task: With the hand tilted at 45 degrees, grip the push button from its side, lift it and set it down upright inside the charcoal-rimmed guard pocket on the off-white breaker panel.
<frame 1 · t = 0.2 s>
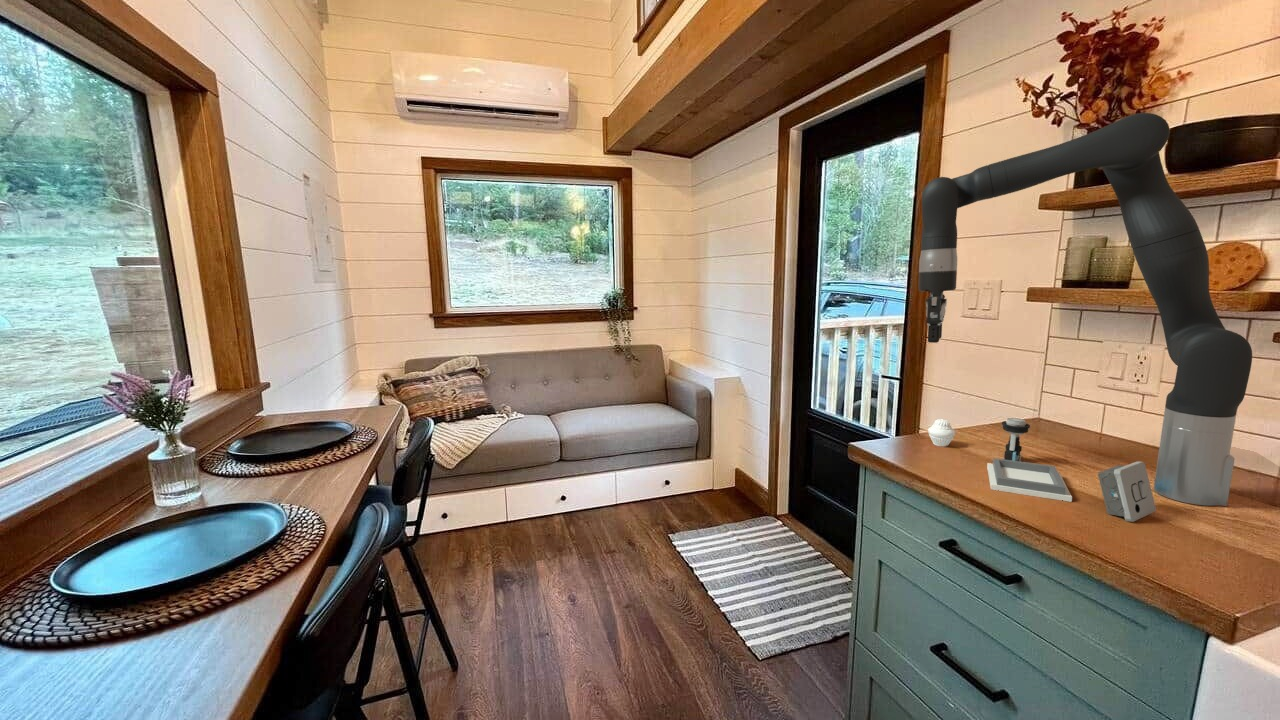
hand: (934, 340, 119), 29 cm above the worktop, tool pointing down, fingers open, 8 cm apart
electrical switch: (1124, 513, 95), on the worktop
sponge: (1119, 492, 105), on the worktop
breaker panel: (1025, 483, 109), on the worktop
muffin: (940, 445, 134), on the worktop
push button: (1012, 460, 122), on the worktop
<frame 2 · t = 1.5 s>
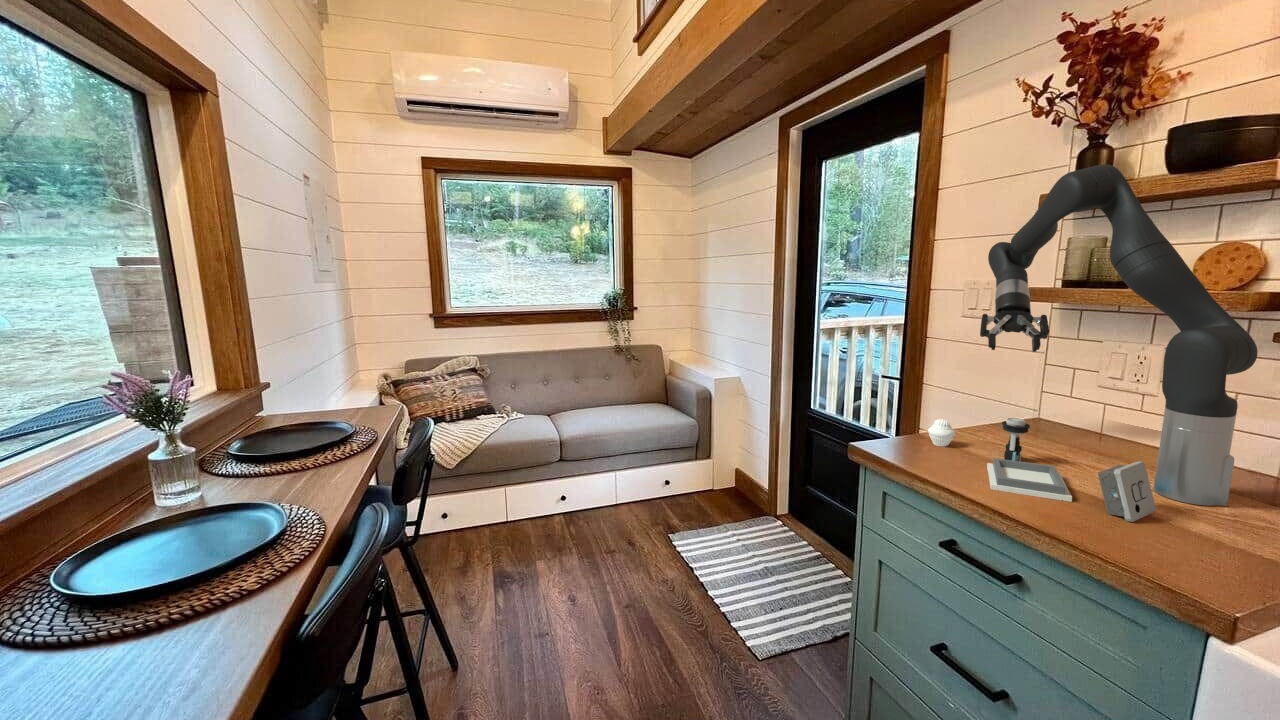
hand: (1014, 349, 129), 25 cm above the worktop, tool tilted 45°, fingers open, 8 cm apart
nothing on the worktop moved.
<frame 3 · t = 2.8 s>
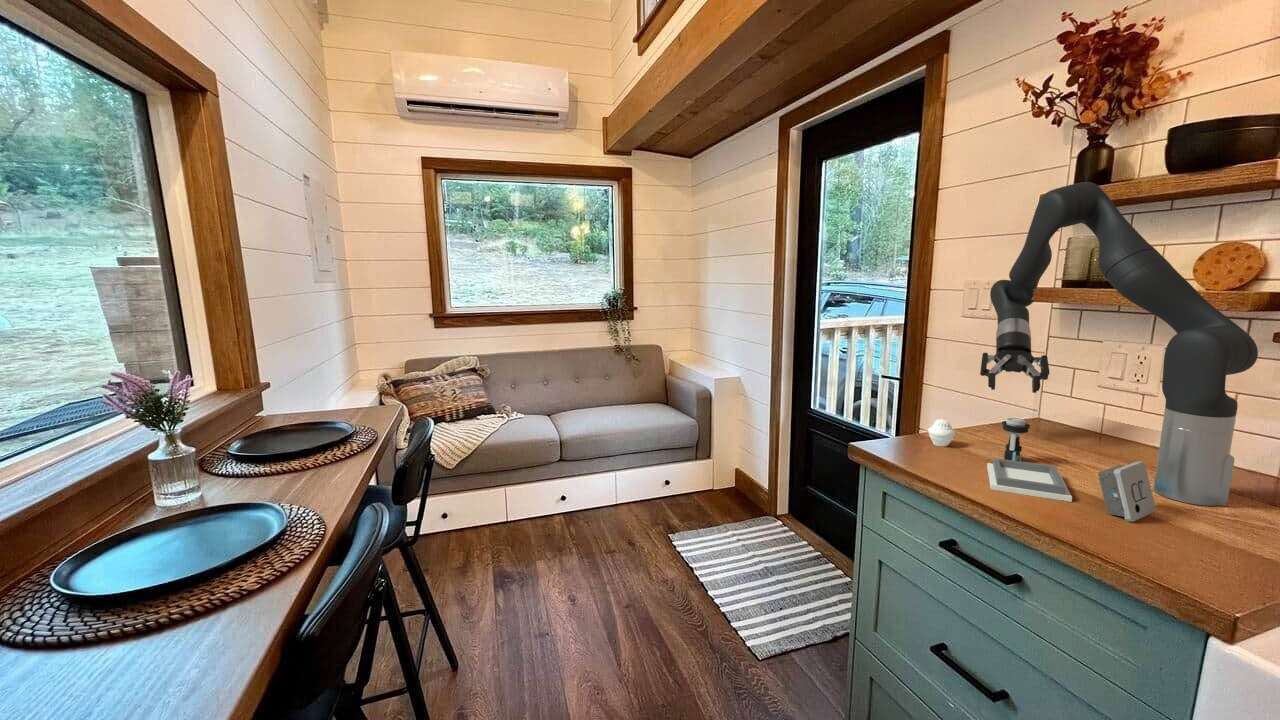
hand: (1013, 389, 129), 15 cm above the worktop, tool tilted 45°, fingers open, 8 cm apart
nothing on the worktop moved.
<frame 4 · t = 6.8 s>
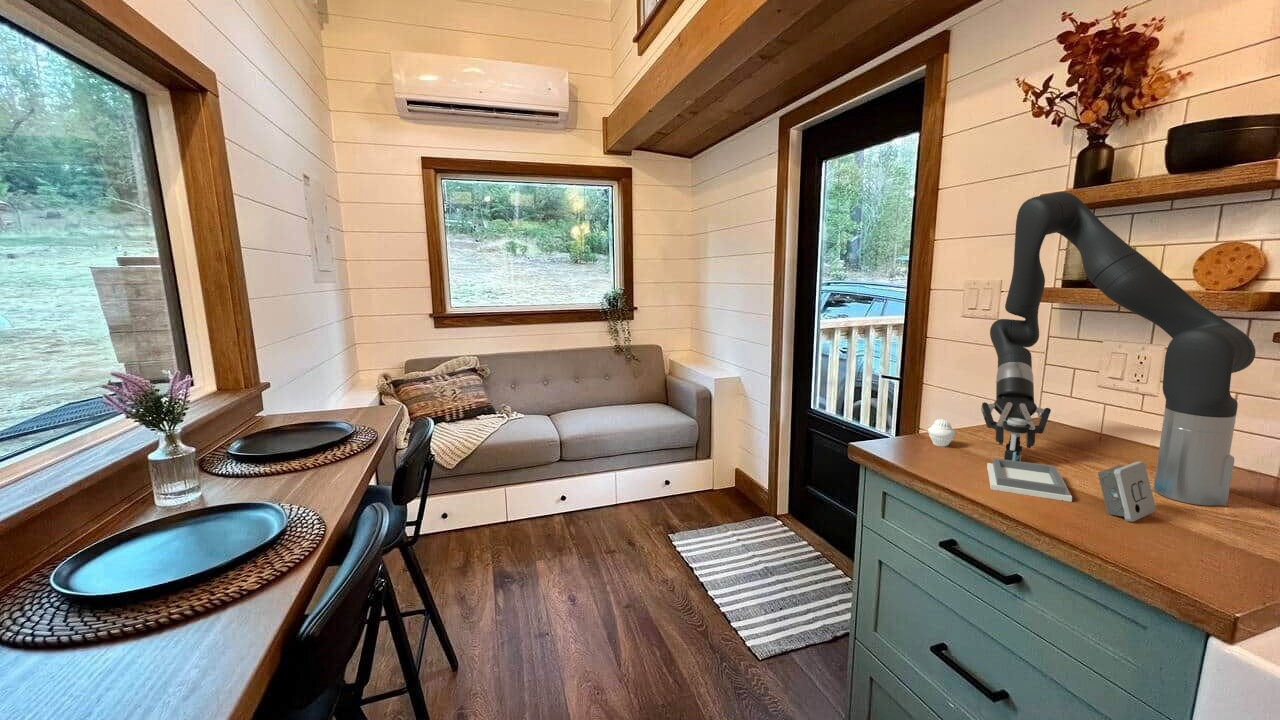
hand: (1015, 444, 120), 4 cm above the worktop, tool tilted 45°, fingers closed on push button, 4 cm apart
push button: (1012, 460, 122), on the worktop, touching gripper
everything else where it was.
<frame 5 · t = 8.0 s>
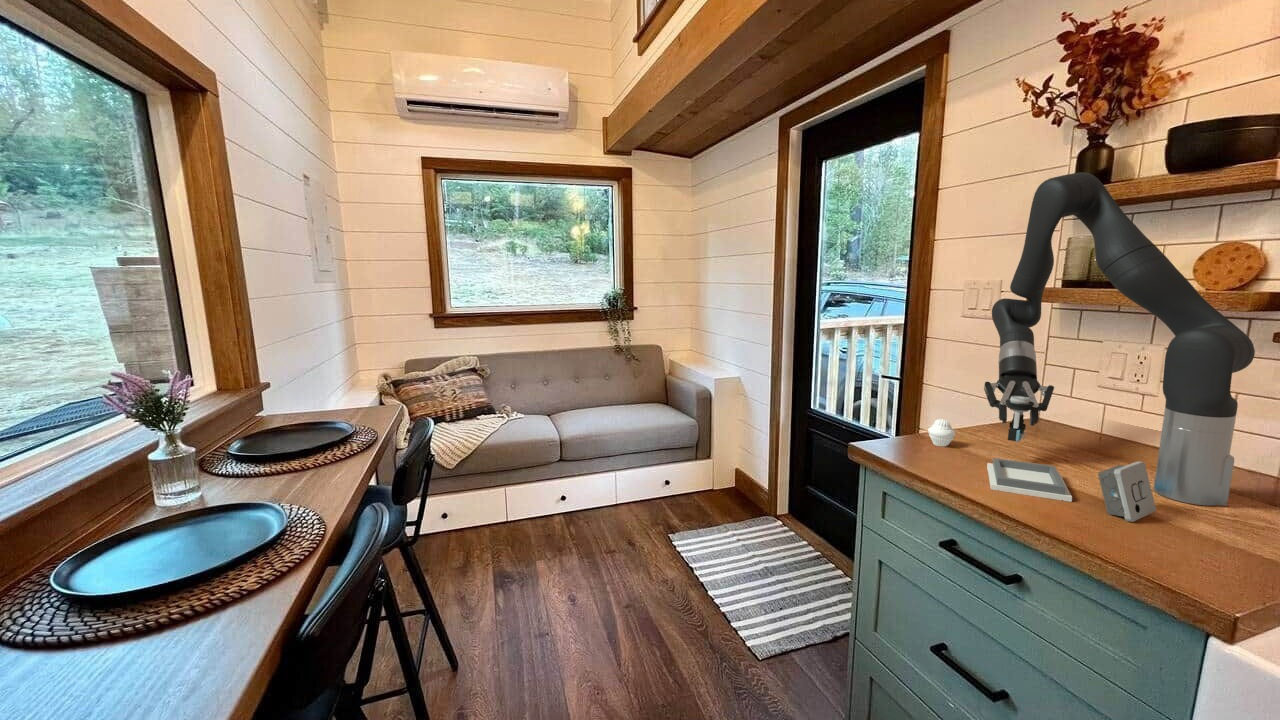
hand: (1018, 422, 119), 10 cm above the worktop, tool tilted 45°, fingers closed on push button, 4 cm apart
push button: (1016, 439, 121), point 5 cm above the worktop, touching gripper
everything else where it was.
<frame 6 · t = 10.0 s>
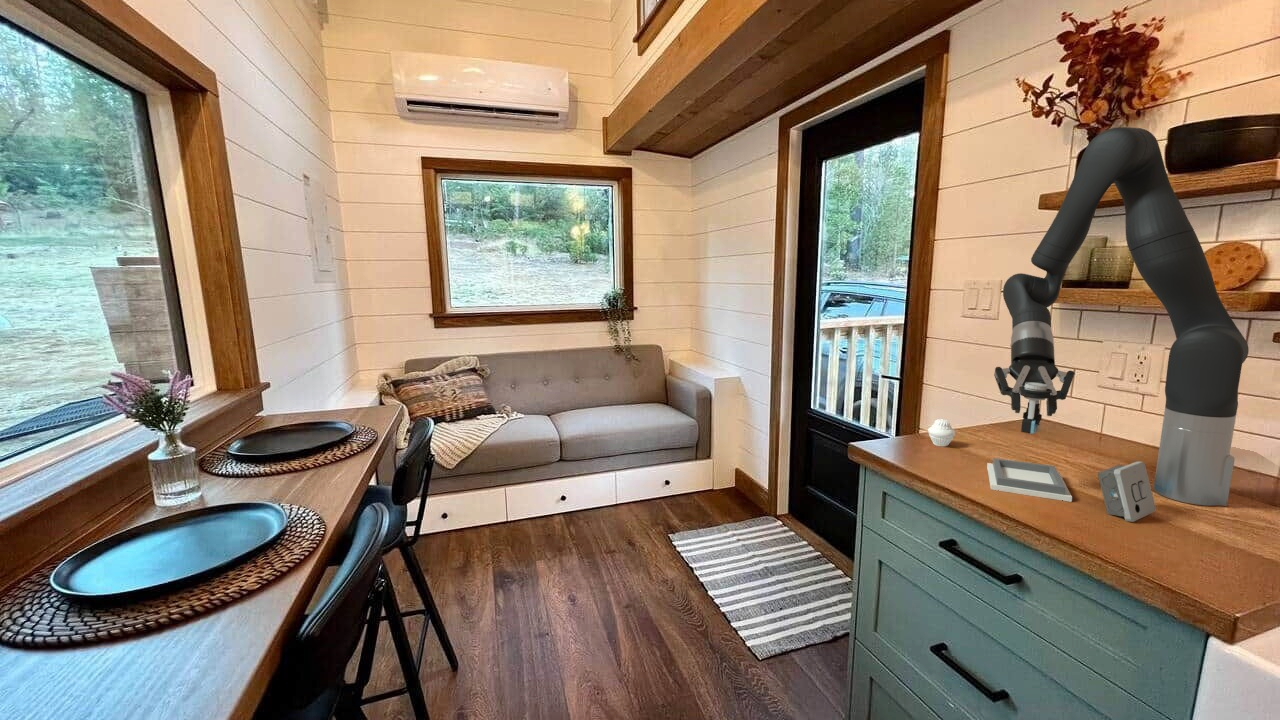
hand: (1033, 412, 105), 16 cm above the worktop, tool tilted 45°, fingers closed on push button, 4 cm apart
push button: (1031, 431, 107), point 11 cm above the worktop, touching gripper
everything else where it was.
when the fingers open (7 cm above the worktop, at t = 13.0 s): push button drops 1 cm, resting on breaker panel.
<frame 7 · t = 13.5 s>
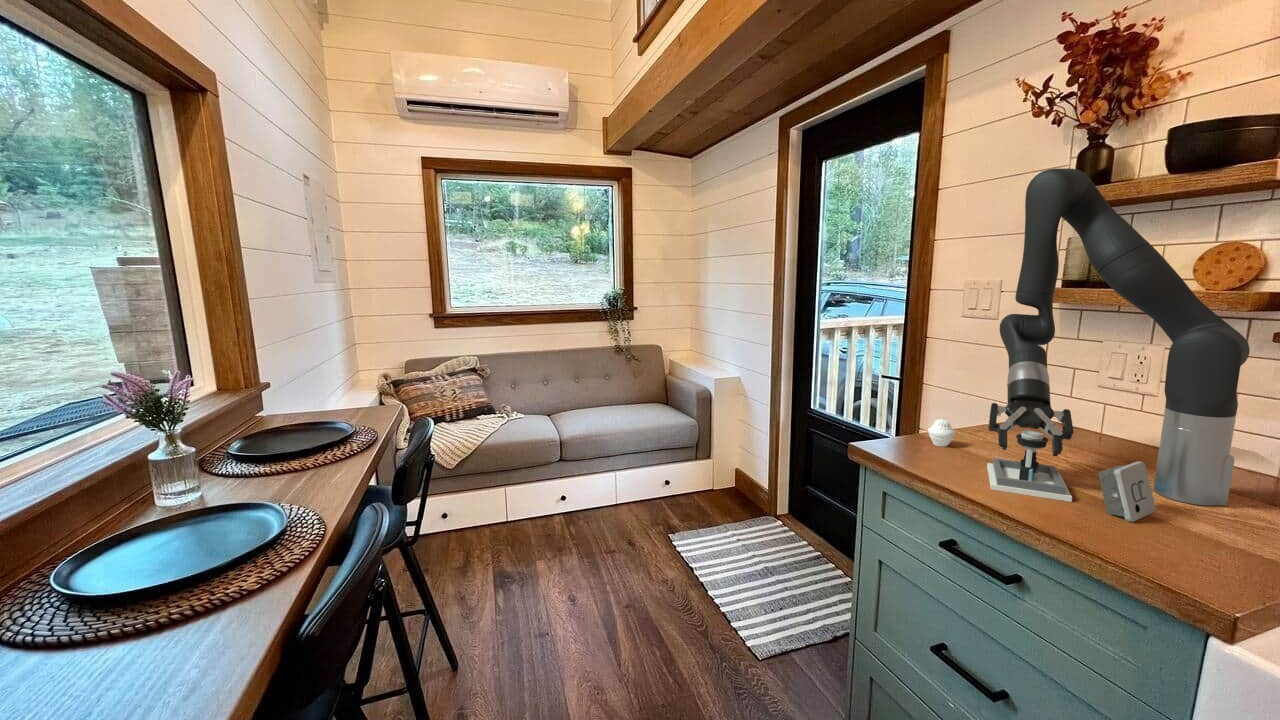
hand: (1029, 451, 107), 7 cm above the worktop, tool tilted 45°, fingers open, 8 cm apart
push button: (1028, 478, 109), point 1 cm above the worktop, touching breaker panel
everything else where it was.
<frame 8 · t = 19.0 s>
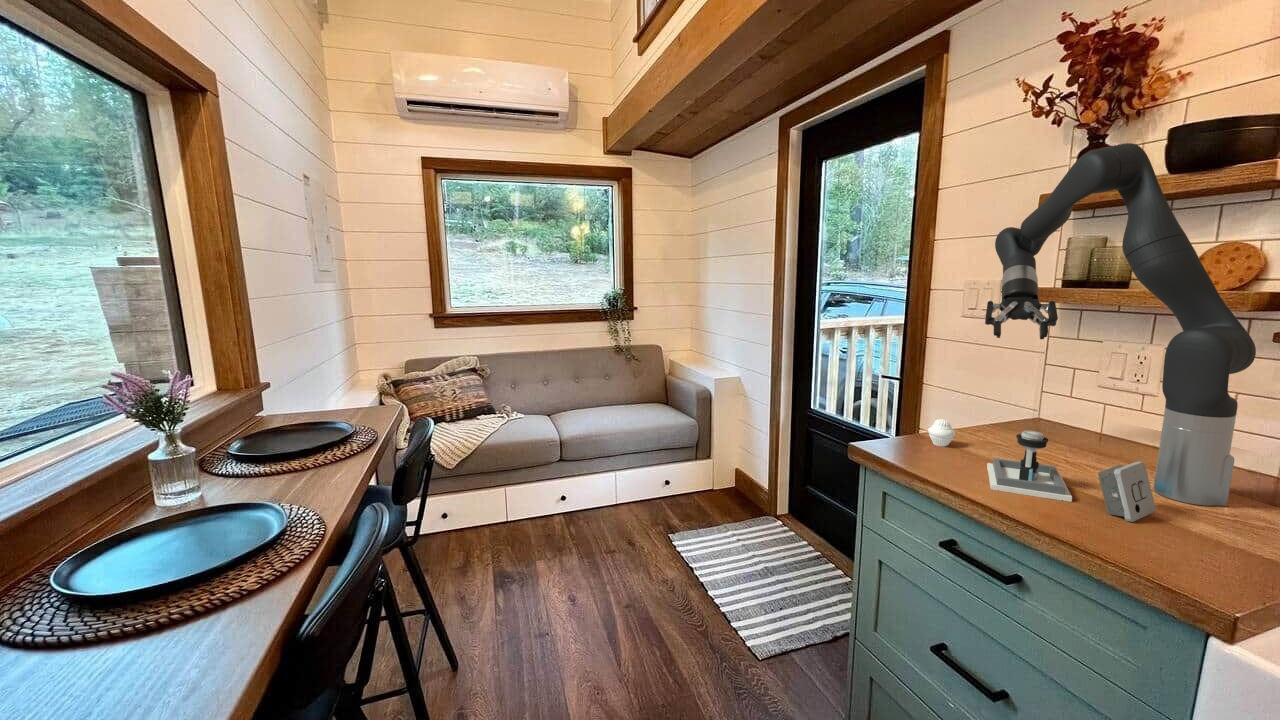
hand: (1020, 336, 124), 29 cm above the worktop, tool tilted 45°, fingers open, 8 cm apart
at the end: push button 1.1 cm off-centre on the breaker panel, point 0.8 cm above the breaker panel's base; push button tilted 0°; the gripper is holding nothing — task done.
